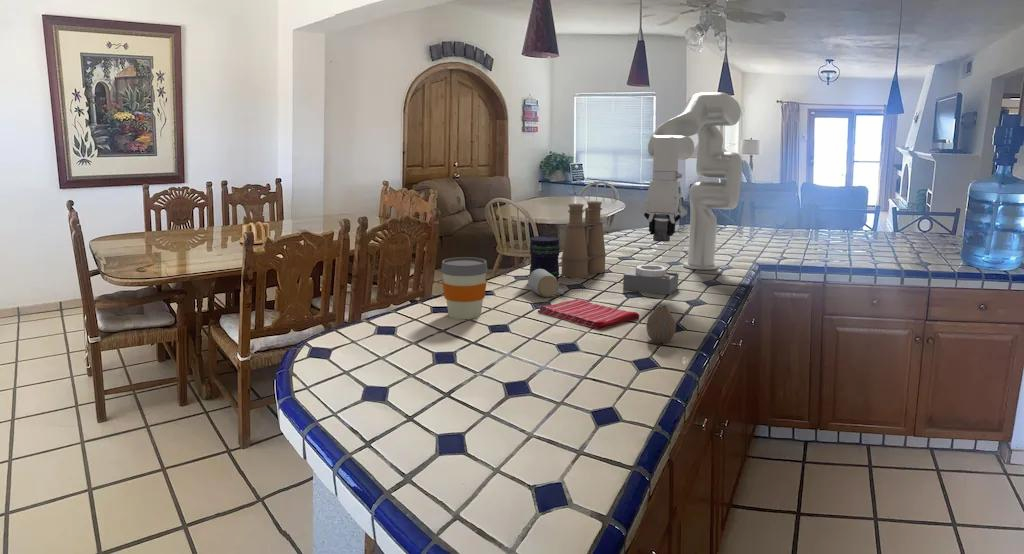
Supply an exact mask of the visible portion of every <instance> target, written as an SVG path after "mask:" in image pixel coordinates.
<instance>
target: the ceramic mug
mask: <svg viewBox="0 0 1024 554" xmlns="http://www.w3.org/2000/svg"><path fill="white" fill-rule="evenodd" d="M558 281H559V280H558ZM558 281H557V279H556V278H555V277H554V276H553V275H552V274H550V273H549V272H547V271H546V270H544V269H536V270H534V271H533V272H532V273H531V274H530V273H529V276H528V279H527V285H528V287H529V290H531V291H532V292H534V293H535V294H537V295H539V296H540V297H543V298H550V297H553V296H554V295H556V294H560V295H564V294H565V291H566V290H565V289H564V288H563V287H561V286H559V283H558Z"/></svg>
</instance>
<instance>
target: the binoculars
mask: <svg viewBox="0 0 1024 554" xmlns="http://www.w3.org/2000/svg"><path fill="white" fill-rule="evenodd" d="M586 204H587V207H585V209H584V206H585V205H584V203H569V204H568V207H569V209H568V210H567V212H568V213H569V215H568V216H569V218H568V219H569V221H568V223H566V225H565V227H566V230H565V236H564V240H563V241H564V243H563V249H562V255H561V257H560V260H561V275H562V276H565V277H570V278H569V279H573V278H578V279H585V278H584V277H586V278H588V275H589V274H588V273H593V274H592V275H597V274H596V273H600V274H604V273H606V257H607V255H608V254H607V253H606V247H605V235H604V227H603V225H604V222H603V220H601V211H602V210H603V208H602V207H601V206H602V204H603V201H595V200H593V201H591V200H589V201H587V202H586ZM584 212H585V213H584ZM583 213H584V214H585V215H584V223H583ZM603 272H604V273H603ZM561 275H560V276H561ZM562 276H561V277H562ZM565 277H564V278H565Z"/></svg>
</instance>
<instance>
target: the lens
mask: <svg viewBox="0 0 1024 554" xmlns="http://www.w3.org/2000/svg"><path fill="white" fill-rule="evenodd" d="M670 221H671V220H670V216H669V214H662V213H656V215H654V231H653V236H652V240H653V242H659V243H660V242H661V243H663V242H664V243H667V242H670V241H671V236H669V224H670Z"/></svg>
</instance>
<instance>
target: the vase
mask: <svg viewBox="0 0 1024 554" xmlns="http://www.w3.org/2000/svg"><path fill="white" fill-rule="evenodd" d="M676 327H677V324H676V320H675V317H674V315H673V314H672V313H671V311H670V309H669V307H668V306H667V305H666V304H658V305H656V308H655V309H654V310H653V311H652V312H651V314H650V315H649V316H648V318H647V321H646V332H647V336H648V337H649V339H650V340H651V341H652V342H653V343H657V344H666V343H667V344H668V343H669V342H670V341H671V340H672V339H673V338H674V337H675V334H676V329H677V328H676Z"/></svg>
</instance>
